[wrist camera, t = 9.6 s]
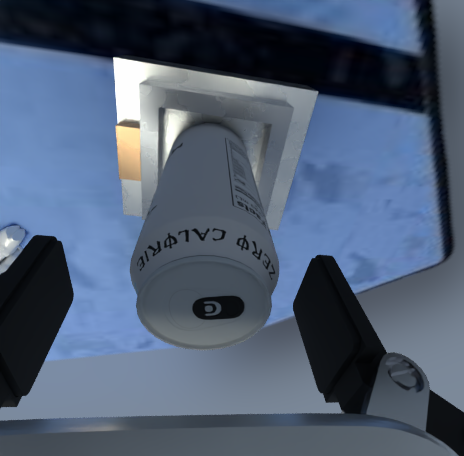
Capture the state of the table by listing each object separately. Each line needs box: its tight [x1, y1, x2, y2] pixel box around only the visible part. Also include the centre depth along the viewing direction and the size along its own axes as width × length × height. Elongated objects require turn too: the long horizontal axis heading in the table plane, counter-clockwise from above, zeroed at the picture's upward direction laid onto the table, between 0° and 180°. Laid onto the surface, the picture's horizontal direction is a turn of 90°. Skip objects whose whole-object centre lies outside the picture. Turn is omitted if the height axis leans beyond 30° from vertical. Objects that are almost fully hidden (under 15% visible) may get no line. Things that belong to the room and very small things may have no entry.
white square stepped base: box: [113, 55, 318, 230], centre depth 23 cm, size 12×14×5 cm
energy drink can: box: [130, 123, 279, 350], centre depth 16 cm, size 6×6×15 cm
